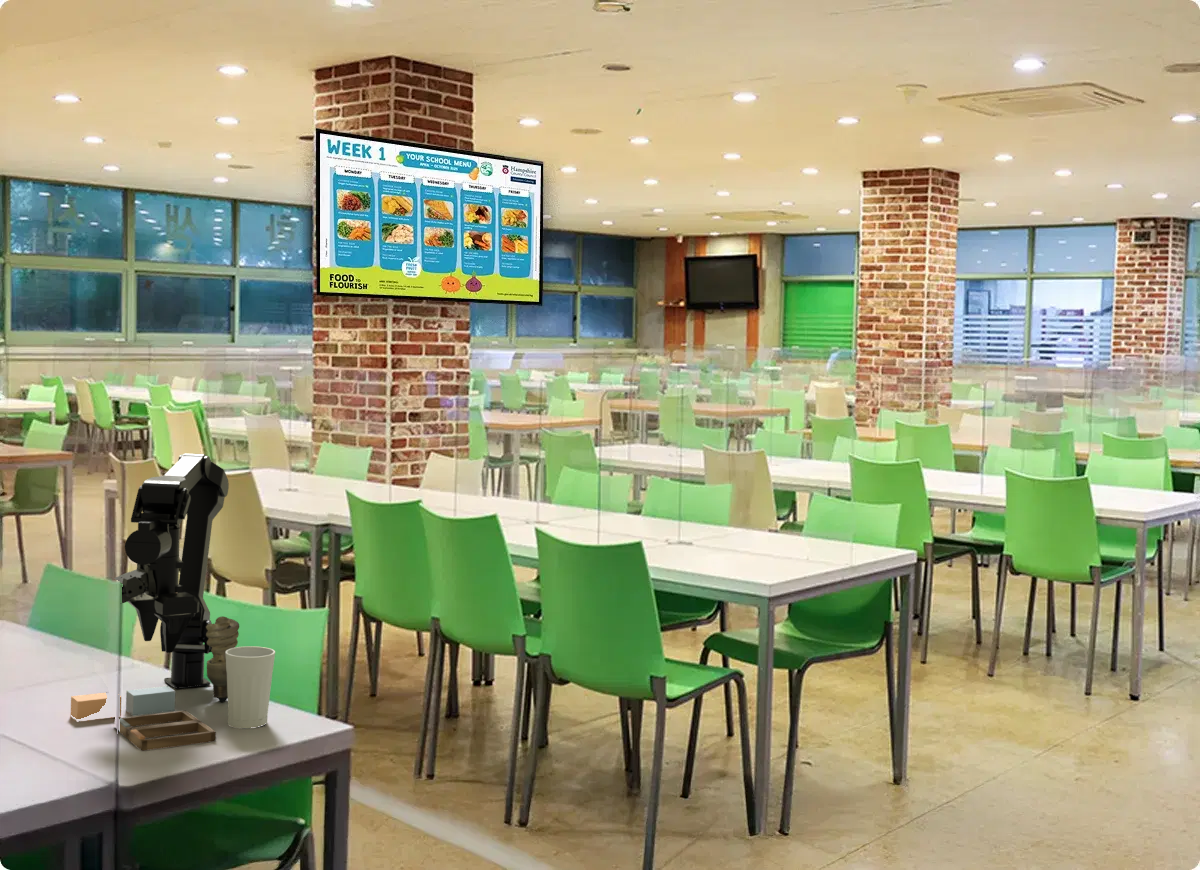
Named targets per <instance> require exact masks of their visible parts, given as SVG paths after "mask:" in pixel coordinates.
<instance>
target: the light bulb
mask: <svg viewBox="0 0 1200 870" xmlns="http://www.w3.org/2000/svg"><path fill="white" fill-rule="evenodd" d="M206 628H207V630H208V631H207V633H206V636H207V637H208V638H209V639H208V641H207V645H209V646H211V647H212V649H211V651H212V652H211V654H212V657H211V658H210V659H208V660H207V661H206V676H207V680H208V681H209V682H210V684H212V687H213V689H212V690H213V699H218V701H219V702H220V703H224V702H227V701H228V692H227V671H226V654H225V652H226V650H228V649H231V648H236V647H238V646H237V645H238V642H239V641H238V637H239V636H240V635H239V629H240V624H239V622H238V621H237V620H235V619H233V618H229V617H226V616H222V615H221V616H218V617H217V618H216V619H215V622H214V623H212V624H207V626H206Z"/></svg>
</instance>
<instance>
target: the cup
mask: <svg viewBox="0 0 1200 870" xmlns="http://www.w3.org/2000/svg"><path fill="white" fill-rule="evenodd" d="M225 654H226V671H227V692H228V698H227V713H228V714H227V725H228V726H229V727H232V728H236V729H242V728H250V729H252V728H251V727H258V726H261V725H264V724H265V723H267V724H268V713H269V706H270V696H271V687H272V681H273V680H272V679H273V673H274V672H273V671H274V666H275V665H274V663H275V656H276V650H274V649H273V648H270V647H263V646H251V645H250V646H247V645H246V646H245V645H244V646H236V647H235V648H231V649H228V650H226V652H225Z"/></svg>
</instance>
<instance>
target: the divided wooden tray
mask: <svg viewBox="0 0 1200 870" xmlns="http://www.w3.org/2000/svg"><path fill="white" fill-rule="evenodd" d="M119 718H120V732H119V734H120V735H122V736H123V737H124V738H126V739H127V740H128V741H129V742H131V744H133V746H135V747H136V748H137V749H139V750H140V751H141V752H143V751H150V750H158V749H159V750H160V749H166V748H173V747H175V748H176V747H182V746H183V747H184V746H188V745H195V744H206V743H211V742H216V740H217V732H216V731H215V730H214V729H213V728H211V727H210V726H208V725H207V724H206V723H204V722H203V721H202V720H200V719H198V718H197V717H196V716H194V715H193V714H191V713H190V712H189V711H187V710H177V711H169V712H161V713H153V714H144V715H136V716H132V715H131V716H126V717H119Z"/></svg>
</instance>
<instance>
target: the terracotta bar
mask: <svg viewBox="0 0 1200 870" xmlns="http://www.w3.org/2000/svg"><path fill="white" fill-rule="evenodd" d="M70 697H71V698H70V716H71V715H72V716H73V717H75V718H76V719H81V718H84V717H87V716H89V715H91V714H94V713H97V712H99V711H100V709H101V708H102V706H104V705H105V703H106V699H107V695H106V692H100V693H98V692H97V693H90V694H79V695H71V696H70ZM120 716H122V696H121V695H120Z"/></svg>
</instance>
